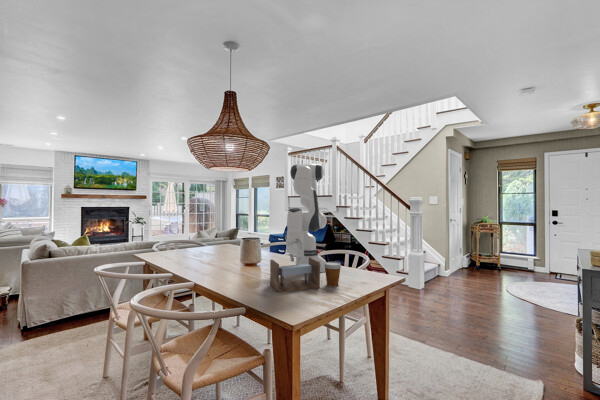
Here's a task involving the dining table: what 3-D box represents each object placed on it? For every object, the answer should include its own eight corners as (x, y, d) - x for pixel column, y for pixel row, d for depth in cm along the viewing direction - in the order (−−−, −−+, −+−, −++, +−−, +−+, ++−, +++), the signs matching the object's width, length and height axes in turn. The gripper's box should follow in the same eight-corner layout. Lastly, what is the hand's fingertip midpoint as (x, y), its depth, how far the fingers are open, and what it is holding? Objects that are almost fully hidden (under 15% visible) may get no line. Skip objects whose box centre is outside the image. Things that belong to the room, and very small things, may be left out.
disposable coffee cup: (331, 288, 158) (331, 266, 158) (320, 284, 166) (320, 262, 166) (344, 285, 163) (344, 264, 163) (333, 281, 171) (333, 261, 171)
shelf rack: (310, 281, 172) (310, 257, 172) (319, 287, 159) (319, 261, 159) (270, 284, 164) (270, 259, 164) (276, 292, 151) (276, 264, 151)
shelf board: (305, 270, 169) (305, 263, 169) (311, 272, 163) (311, 265, 163) (277, 274, 160) (277, 266, 160) (282, 276, 154) (282, 269, 154)
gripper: (306, 240, 153) (306, 267, 153) (294, 235, 172) (294, 259, 172) (295, 241, 151) (295, 267, 151) (284, 235, 170) (284, 259, 170)
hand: (294, 263), depth 162 cm, fingers open, 8 cm apart
